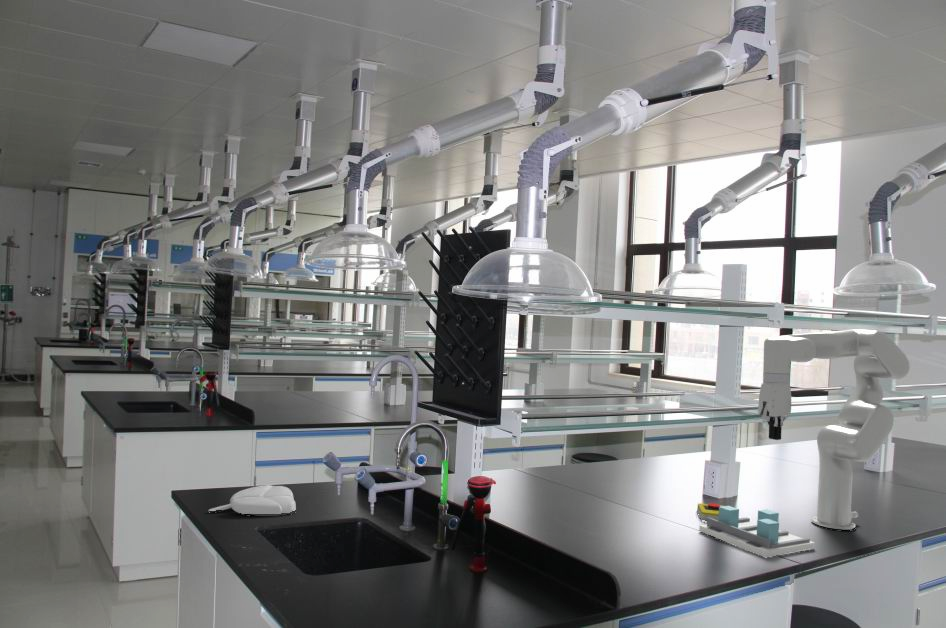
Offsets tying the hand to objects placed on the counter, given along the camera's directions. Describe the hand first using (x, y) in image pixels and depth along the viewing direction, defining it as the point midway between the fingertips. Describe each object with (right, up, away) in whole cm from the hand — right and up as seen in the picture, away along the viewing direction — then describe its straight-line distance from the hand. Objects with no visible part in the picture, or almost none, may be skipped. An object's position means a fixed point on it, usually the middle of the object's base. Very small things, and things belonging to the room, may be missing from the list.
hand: (774, 438), depth 218 cm
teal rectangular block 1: (-16, -25, -4) cm, 30 cm away
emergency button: (-14, -28, +14) cm, 34 cm away
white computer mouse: (-158, -22, -1) cm, 160 cm away
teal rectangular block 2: (-9, -26, -17) cm, 32 cm away
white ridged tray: (-9, -28, -9) cm, 31 cm away
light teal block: (-5, -26, -6) cm, 27 cm away
